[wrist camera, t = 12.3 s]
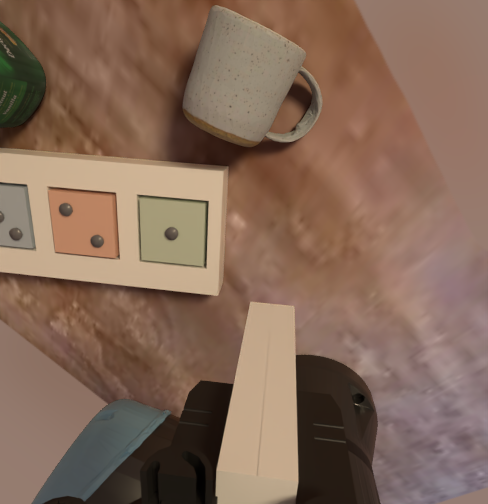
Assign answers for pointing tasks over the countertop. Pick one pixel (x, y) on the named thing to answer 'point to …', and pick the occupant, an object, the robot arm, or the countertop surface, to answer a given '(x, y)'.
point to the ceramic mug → (245, 81)
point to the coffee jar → (18, 80)
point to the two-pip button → (84, 222)
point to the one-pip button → (174, 230)
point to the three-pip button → (15, 216)
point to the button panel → (128, 211)
